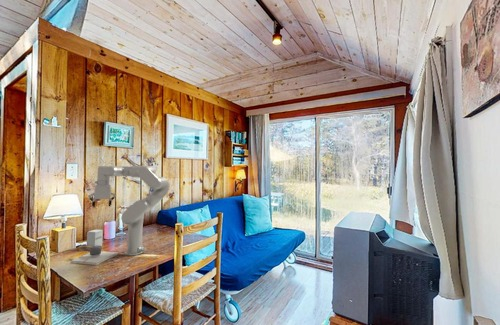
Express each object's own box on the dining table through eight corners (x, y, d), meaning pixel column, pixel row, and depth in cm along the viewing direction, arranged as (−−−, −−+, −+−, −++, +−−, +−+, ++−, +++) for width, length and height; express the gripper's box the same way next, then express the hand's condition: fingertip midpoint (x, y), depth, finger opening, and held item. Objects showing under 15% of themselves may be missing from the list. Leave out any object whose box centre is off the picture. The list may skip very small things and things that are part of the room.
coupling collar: (103, 252, 159) (103, 245, 159) (95, 255, 152) (96, 249, 152) (83, 250, 161) (84, 244, 161) (75, 253, 155) (75, 247, 155)
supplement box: (94, 249, 173) (95, 232, 173) (86, 248, 175) (86, 231, 175) (102, 246, 180) (103, 229, 181) (94, 245, 182) (95, 229, 182)
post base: (117, 254, 163) (117, 250, 163) (95, 265, 145) (95, 260, 145) (93, 252, 166) (93, 248, 166) (68, 263, 148) (68, 258, 148)
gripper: (89, 183, 162) (87, 208, 161) (117, 183, 173) (116, 206, 172) (88, 182, 168) (86, 206, 167) (115, 182, 179) (114, 205, 178)
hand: (101, 206), depth 170 cm, fingers open, 9 cm apart
